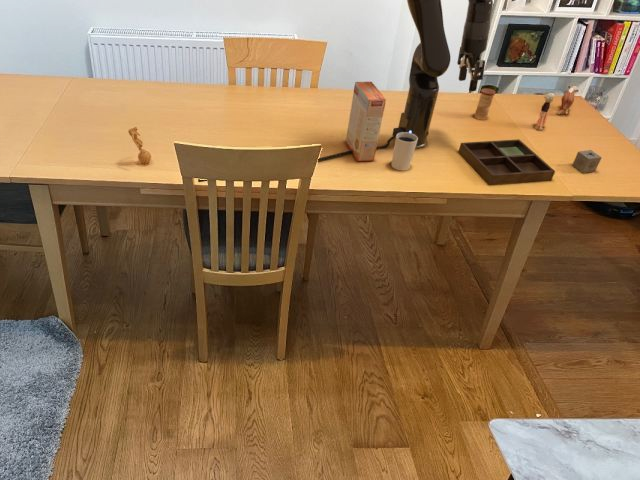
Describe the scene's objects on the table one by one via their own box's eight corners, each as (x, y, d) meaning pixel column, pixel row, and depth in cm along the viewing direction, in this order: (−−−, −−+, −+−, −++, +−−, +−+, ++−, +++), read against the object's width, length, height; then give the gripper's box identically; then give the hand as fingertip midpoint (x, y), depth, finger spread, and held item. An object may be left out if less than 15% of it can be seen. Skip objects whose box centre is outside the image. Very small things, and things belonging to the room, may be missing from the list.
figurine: (151, 169, 179) (148, 132, 171) (131, 169, 178) (127, 133, 170) (151, 156, 185) (148, 120, 177) (132, 156, 184) (128, 120, 177)
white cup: (395, 158, 190) (401, 130, 184) (414, 165, 187) (421, 136, 181) (386, 166, 186) (392, 137, 179) (405, 173, 183) (412, 144, 177)
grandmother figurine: (545, 132, 210) (559, 97, 201) (534, 130, 210) (547, 96, 202) (542, 122, 215) (555, 89, 207) (531, 121, 216) (544, 88, 207)
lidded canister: (477, 120, 215) (485, 94, 208) (471, 114, 218) (478, 88, 212) (489, 119, 216) (498, 93, 209) (483, 114, 219) (491, 87, 213)
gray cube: (595, 171, 189) (601, 157, 186) (582, 172, 188) (588, 159, 185) (584, 163, 193) (590, 149, 189) (572, 165, 191) (578, 151, 188)
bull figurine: (572, 106, 228) (581, 85, 223) (566, 118, 219) (574, 97, 214) (561, 103, 230) (569, 82, 224) (554, 115, 221) (562, 94, 216)
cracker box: (375, 161, 188) (387, 98, 175) (357, 162, 187) (367, 99, 174) (362, 141, 199) (372, 80, 185) (345, 141, 198) (354, 80, 184)
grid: (489, 185, 180) (492, 175, 178) (458, 151, 196) (460, 142, 193) (551, 180, 183) (555, 171, 181) (516, 148, 199) (519, 139, 197)
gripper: (454, 28, 184) (447, 78, 195) (473, 43, 173) (464, 96, 184) (478, 25, 184) (469, 75, 195) (497, 40, 174) (487, 93, 184)
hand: (467, 85), depth 190 cm, fingers open, 8 cm apart
